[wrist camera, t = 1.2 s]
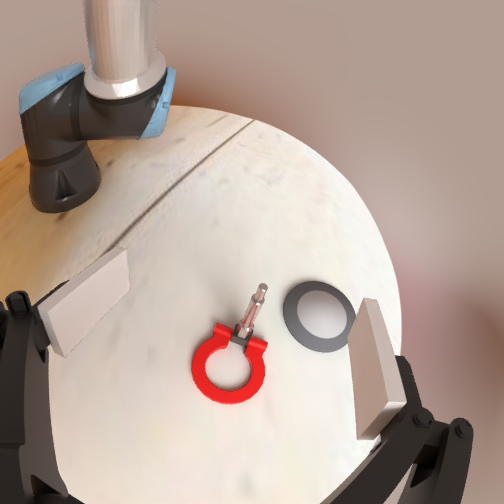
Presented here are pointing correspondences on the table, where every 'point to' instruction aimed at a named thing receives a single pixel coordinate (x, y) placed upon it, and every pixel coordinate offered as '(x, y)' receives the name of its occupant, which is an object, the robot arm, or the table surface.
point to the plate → (319, 316)
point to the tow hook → (253, 354)
